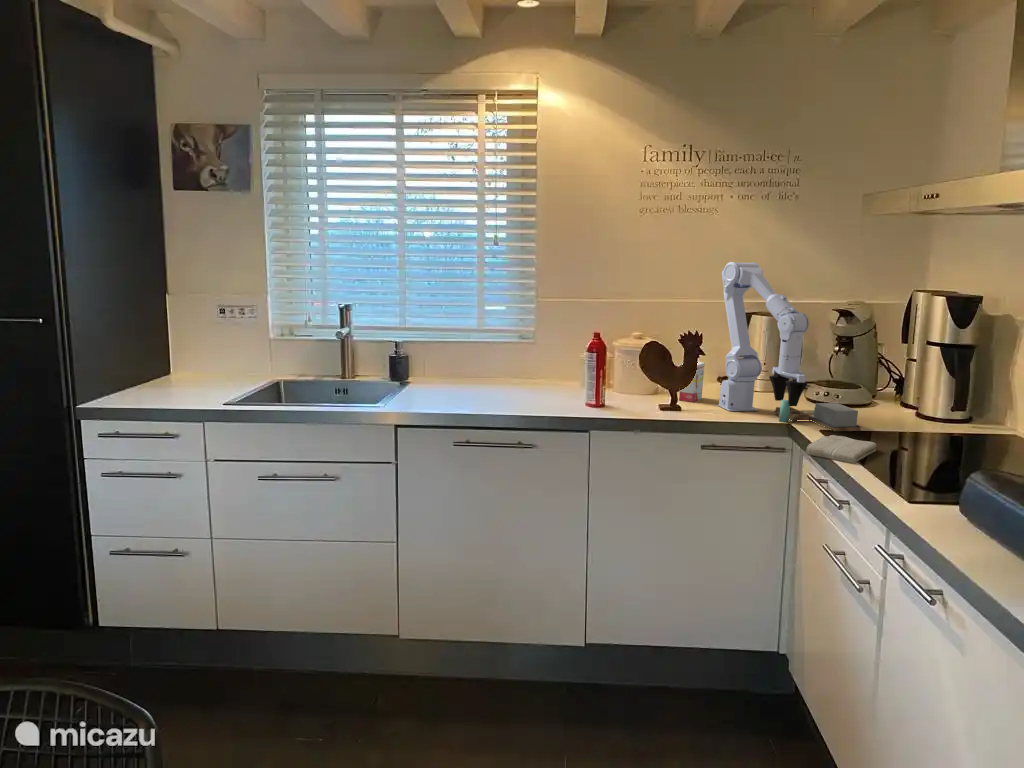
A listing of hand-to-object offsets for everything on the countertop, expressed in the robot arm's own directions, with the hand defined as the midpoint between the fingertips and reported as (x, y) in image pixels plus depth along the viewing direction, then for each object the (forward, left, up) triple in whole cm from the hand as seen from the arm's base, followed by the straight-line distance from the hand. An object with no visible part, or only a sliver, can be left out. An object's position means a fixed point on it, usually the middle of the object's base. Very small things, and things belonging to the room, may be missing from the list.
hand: (785, 403), depth 231 cm
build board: (+5, +5, -5) cm, 9 cm away
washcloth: (-3, -32, -6) cm, 33 cm away
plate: (+12, -1, -5) cm, 13 cm away
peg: (0, 0, -5) cm, 5 cm away
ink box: (-15, +31, -6) cm, 35 cm away
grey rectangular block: (+12, -6, -5) cm, 15 cm away
